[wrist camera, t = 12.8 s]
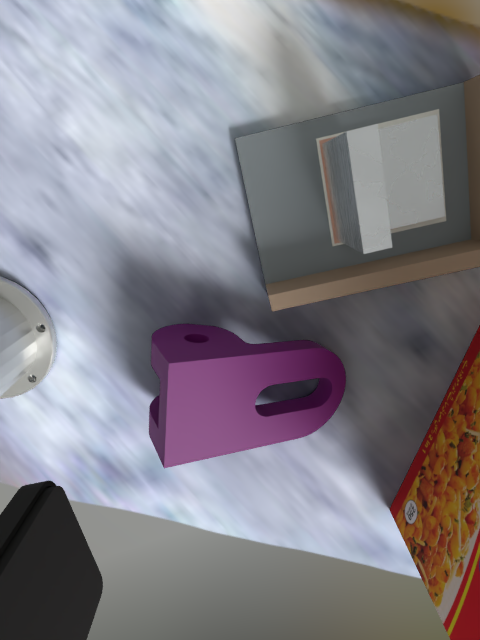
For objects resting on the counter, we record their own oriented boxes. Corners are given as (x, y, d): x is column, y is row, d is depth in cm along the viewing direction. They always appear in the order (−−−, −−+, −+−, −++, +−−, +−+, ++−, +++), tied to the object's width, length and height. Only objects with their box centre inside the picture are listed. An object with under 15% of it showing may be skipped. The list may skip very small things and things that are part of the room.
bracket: (336, 239, 36) (363, 254, 28) (321, 144, 33) (346, 131, 26) (439, 215, 35) (495, 223, 28) (431, 116, 33) (489, 95, 25)
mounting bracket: (302, 316, 46) (142, 325, 38) (353, 344, 38) (168, 362, 30) (291, 391, 48) (139, 415, 40) (336, 430, 41) (163, 468, 33)
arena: (267, 296, 39) (272, 311, 34) (235, 139, 34) (234, 132, 30) (481, 249, 37) (516, 258, 33) (474, 80, 33) (514, 63, 28)
